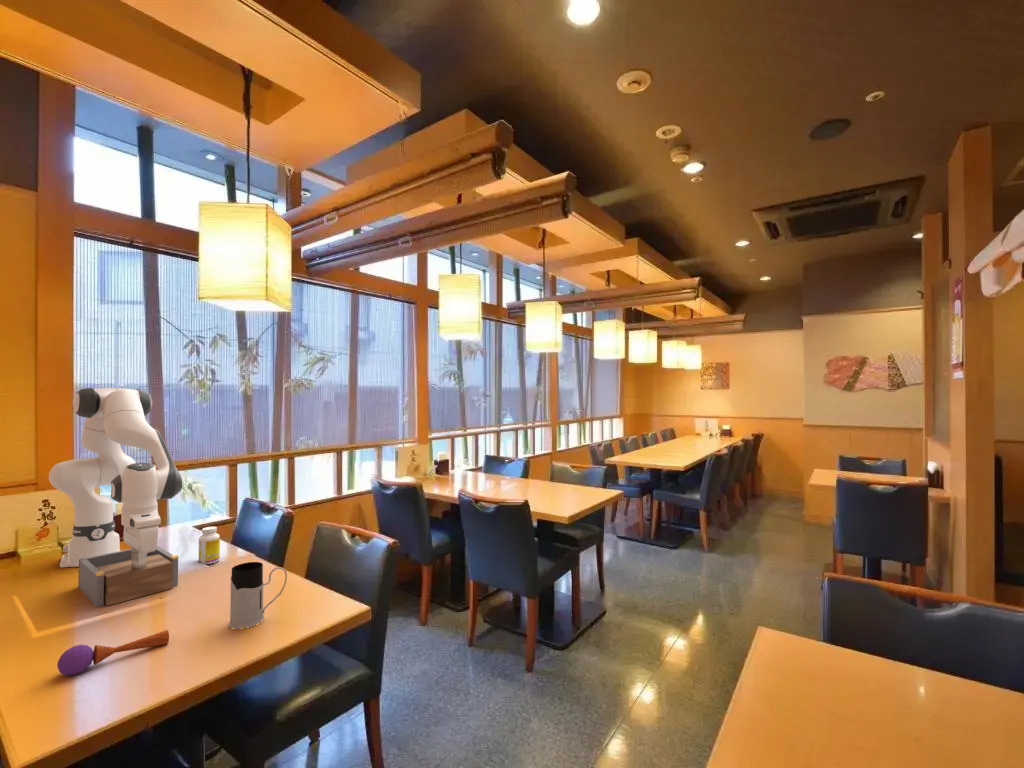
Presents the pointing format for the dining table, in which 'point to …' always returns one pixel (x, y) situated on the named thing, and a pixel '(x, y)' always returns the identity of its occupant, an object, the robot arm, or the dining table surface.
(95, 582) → the bay
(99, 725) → the dining table surface
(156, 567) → the wooden block with knob
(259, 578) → the glass holder
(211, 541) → the supplement bottle
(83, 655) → the purple maraca
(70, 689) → the dining table surface
